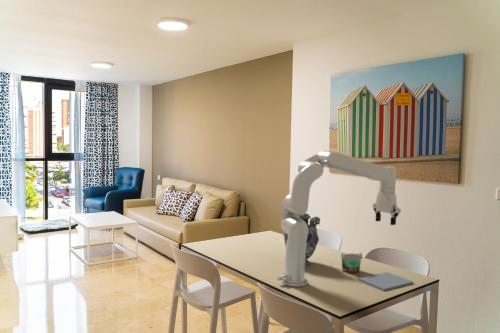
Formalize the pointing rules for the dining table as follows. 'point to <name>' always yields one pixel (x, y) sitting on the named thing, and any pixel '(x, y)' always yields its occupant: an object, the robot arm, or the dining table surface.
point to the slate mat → (385, 281)
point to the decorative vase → (309, 235)
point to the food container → (351, 263)
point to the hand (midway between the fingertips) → (385, 222)
